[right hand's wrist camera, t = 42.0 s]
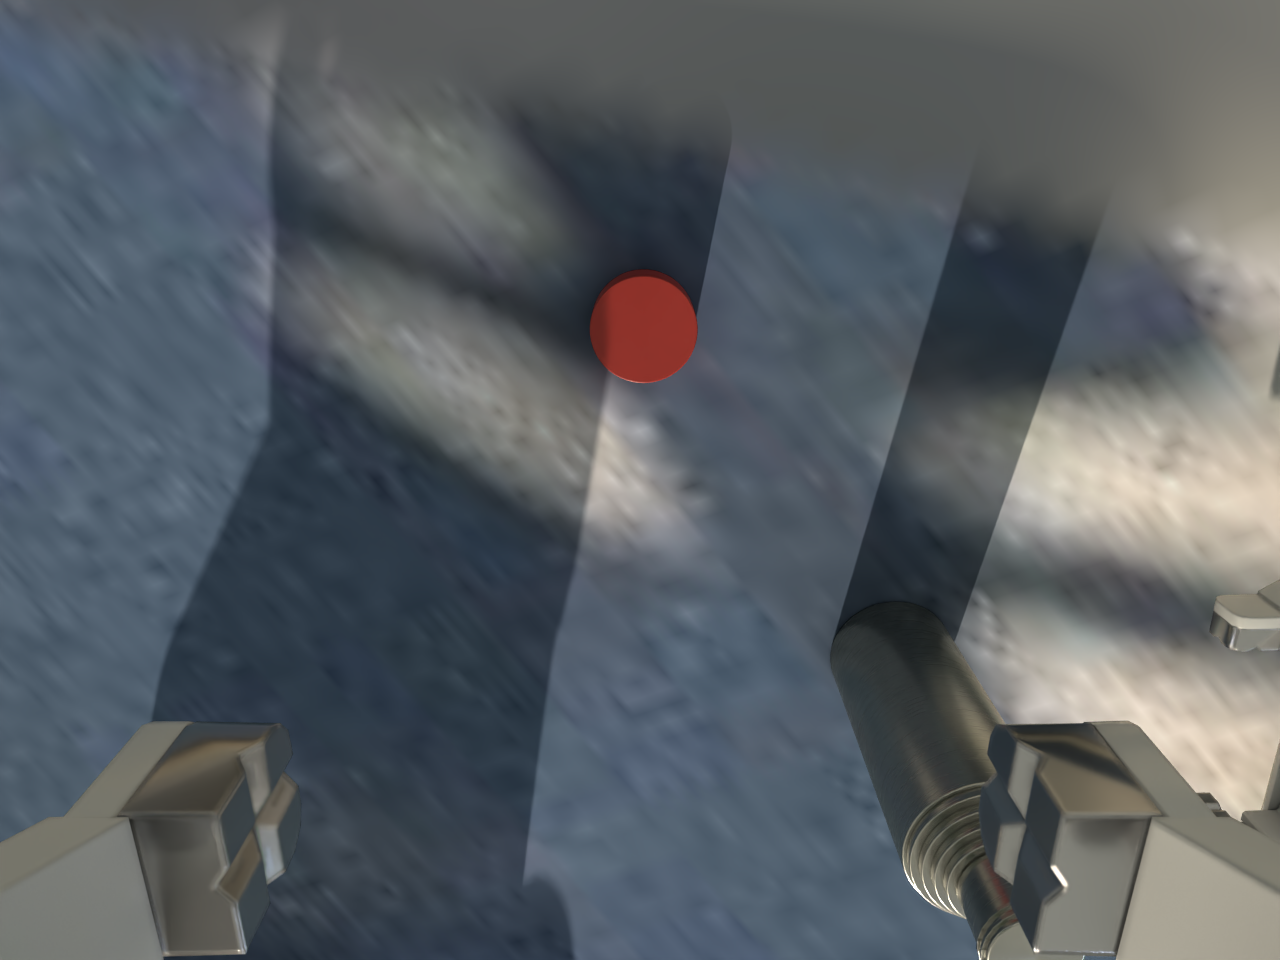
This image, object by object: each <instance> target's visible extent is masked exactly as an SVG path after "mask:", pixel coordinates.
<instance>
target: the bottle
mask: <svg viewBox="0 0 1280 960" xmlns="http://www.w3.org/2000/svg"><path fill="white" fill-rule="evenodd" d="M830 663H831V669H832V672H833V675H834V678H835V681H836V684H837V686H838V689H839V692H840V695H841V697H842V700H843V703H844V706H845V709H846V711H847V714H848V717H849V720H850V722H851V725H852V728H853V731H854V733H855V736H856V739H857V742H858V744H859V747H860V750H861V753H862V755H863V758H864V761H865V764H866V767H867V769H868V772H869V775H870V778H871V780H872V783H873V786H874V789H875V791H876V794H877V797H878V800H879V802H880V805H881V808H882V811H883V813H884V816H885V819H886V822H887V825H888V827H889V830H890V833H891V836H892V838H893V841H894V844H895V847H896V849H897V852H898V855H899V858H900V860H901V863H902V866H903V869H904V871H905V874H906V876H907V878H908V880H909V881H910V883H911V884H912V886H913V887H914V888H915V889H916V890H917V891H918V892H919V893H920V894H921V895H922V896H923V897H924V898H925V899H926V900H927V901H929V902H930V903H931V904H933V905H934V906H936V907H938V908H939V909H941V910H944V911H946V912H949V913H952V914H954V915H957V916H960V917H962V918H965V919H967V921H968V923H969V926H970V928H971V930H972V933H973V935H974V938H975V940H976V949H977V951H978V954H979V957H980V960H1084V958H1085V956H1081V955H1046V954H1034V952H1033V950H1032V948H1031V946H1030V944H1029V942H1028V940H1027V938H1026V936H1025V934H1024V932H1023V930H1022V928H1021V926H1020V924H1019V922H1018V919H1017V917H1016V915H1015V913H1014V911H1013V909H1012V907H1011V905H1010V899H1011V893H1012V887H1013V885H1012V884H1011V883H1009V882H1008V881H1007V880H1005V879H1004V878H1002V877H1001V876H1000V875H998V874H997V873H996V872H994V870H993V868H992V866H991V863H990V861H989V859H988V857H987V855H986V852H985V849H984V845H983V841H982V838H981V833H980V822H979V811H978V810H979V802H980V794H981V786H982V785H983V784H984V783H985V782H986V781H987V780H988V779H989V778H990V777H991V776H992V775H993V774H994V773H995V772H996V770H995V768H994V766H993V764H992V762H991V761H990V759H989V757H988V755H987V750H988V745H989V739H990V735H991V733H992V731H993V729H994V727H995V725H996V724H1005V722H1004V721H1003V719H1002V717H1001V716H1000V714H999V713H998V711H997V709H996V708H995V706H994V705H993V703H992V701H991V700H990V698H989V697H988V695H987V693H986V692H985V690H984V689H983V687H982V685H981V684H980V682H979V681H978V679H977V678H976V676H975V674H974V673H973V671H972V670H971V668H970V666H969V665H968V663H967V662H966V660H965V658H964V657H963V655H962V654H961V652H960V650H959V649H958V647H957V646H956V644H955V642H954V641H953V639H952V638H951V636H950V634H949V633H948V631H947V630H946V628H945V626H944V625H943V623H942V622H941V621H940V620H939V618H938V617H936V616H935V615H934V614H933V613H932V612H930V611H929V610H927V609H925V608H923V607H921V606H918V605H915V604H912V603H907V602H886V603H880V604H877V605H873V606H871V607H868V608H866V609H864V610H862V611H860V612H858V613H857V614H856V615H854V616H853V617H851V618H850V619H849V620H848V621H847V622H846V623H845V624H844V625H843V626H842V628H841V629H840V631H839V632H838V634H837V635H836V637H835V639H834V642H833V645H832V648H831V654H830Z"/></svg>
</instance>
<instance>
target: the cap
mask: <svg viewBox="0 0 1280 960" xmlns="http://www.w3.org/2000/svg"><path fill="white" fill-rule="evenodd" d="M697 328H698V327H697V319H696V315H695V311H694V308H693V305H692V303H691V300H690V298H689V296H688V294H687V293H686V291H685V290H684V288H683V287H682V286H681V285H680V284H679V283H678V282H677V281H675V280H674V279H673V278H671V277H670V276H668V275H666V274H664V273H661V272H658V271H655V270H648V269H640V270H633V271H629V272H626V273H623V274H621V275H619V276H617V277H616V278H614V279H613V280H612V281H610V282H609V283H608V284H607V285H606V286H605V287H604V288H603V290H602V291H601V292H600V294H599V296H598V298H597V300H596V302H595V305H594V309H593V313H592V316H591V321H590V337H591V342H592V346H593V349H594V351H595V353H596V355H597V357H598V358H599V360H600V361H601V363H602V364H603V365H604V366H605V367H606V368H607V369H608V370H609V371H611V372H612V373H613V374H615V375H617V376H618V377H620V378H623V379H625V380H628V381H632V382H638V383H649V382H655V381H659V380H662V379H665V378H667V377H669V376H671V375H672V374H674V373H675V372H677V371H678V370H679V369H680V368H681V367H682V366H683V365H684V364H685V363H686V362H687V360H688V359H689V357H690V356H691V354H692V352H693V349H694V347H695V343H696V339H697Z"/></svg>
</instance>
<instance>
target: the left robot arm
mask: <svg viewBox="0 0 1280 960" xmlns="http://www.w3.org/2000/svg"><path fill="white" fill-rule="evenodd" d="M1209 632H1210V633H1211V634H1212V635H1213V636H1214V637H1219V639H1220V641H1221V643H1222V644H1223V645H1224V646H1226V647H1228V648H1230V649H1232V650H1236V651H1251V650H1253V649H1254V648H1257V649H1259V650H1260V651H1279V648H1280V580H1278V581H1276V582H1274V583H1272V584H1271V585H1269V586H1267V587H1265V588H1263V589H1261V590H1260V591H1258V594H1245V595H1221V596H1217V597H1216V601H1215V605H1214V611H1213V616H1212V621H1211V625H1210V630H1209ZM1197 795H1198V796H1199V797H1200V798H1201V799H1202V800H1203V802H1204V803H1205V804H1206V805H1207V806H1208V807H1209V809H1210V810H1211V811H1212V812H1213V813H1214V814H1215V816H1216V817H1230V815H1229V814H1228V813H1227V812H1226V811H1224V810H1221V807H1220V805H1219V803H1218V802H1217V800H1216V799H1215V798H1214V797H1213V796H1212V795H1211V794H1210V793H1197ZM1241 820H1242V821H1243V822H1241V823H1243V824H1245V825H1247V826H1249V827H1251V828H1253V829H1255V830H1256V831H1258V832H1260V833H1262V834H1264V835H1266V836H1268V837H1270V838H1272V839H1274V840H1276V841H1277V842H1279V843H1280V741H1279V745H1278V749H1277V752H1276V756H1275V760H1274V764H1273V767H1272V771H1271V775H1270V779H1269V783H1268V786H1267V790H1266V794H1265V798H1264V801H1263V805H1262V809H1261V810H1257V811H1245V812H1243V813H1242V817H1241Z"/></svg>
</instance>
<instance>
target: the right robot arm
mask: <svg viewBox="0 0 1280 960" xmlns="http://www.w3.org/2000/svg"><path fill="white" fill-rule="evenodd" d="M292 755H293V751H292V746H291V741H290V736H289V732H288V729H287V728H285V727H284V726H283V725H282V724H281V723H246V722H200V721H197V722H190V721H153V722H150V723H148V724H145V725H142V726H141V727H140V728H139V729H138V730H137V732H136V733H135V734H134V735H133V736H132V737H131V739H130V740H129V741H128V742H127V743H126V744H125V746H124V747H123V748H122V749H121V750H120V751H119V753H118V754H117V755H116V756H115V757H114V758H113V760H112V761H111V762H110V763H109V764H108V765H107V767H106V768H105V769H104V770H103V771H102V772H101V774H100V775H99V776H98V777H97V778H96V779H95V781H94V782H93V783H92V784H91V785H90V786H89V788H88V789H87V790H86V791H85V792H84V793H83V795H82V796H81V797H80V798H79V799H78V800H77V802H76V803H75V804H74V805H73V806H72V807H71V809H70V810H69V811H68V812H67V813H66V814H65V816H64V817H48V818H46V819H44V820H43V821H41V822H39V823H37V824H35V825H33V826H31V827H29V828H27V829H25V830H23V831H22V832H20V833H18V834H16V835H14V836H12V837H10V838H8V839H6V840H4V841H2V842H1V843H0V960H164V956H198V955H232V954H246V952H247V950H248V948H249V946H250V944H251V942H252V940H253V938H254V936H255V934H256V932H257V930H258V928H259V926H260V924H261V922H262V920H263V917H264V915H265V913H266V911H267V909H268V907H269V905H270V899H269V893H268V887H267V885H268V884H269V883H271V882H272V881H273V880H275V879H276V878H278V877H279V876H280V875H282V874H283V873H284V872H286V870H287V868H288V866H289V863H290V861H291V859H292V857H293V855H294V852H295V849H296V845H297V840H298V836H299V831H300V826H301V800H300V793H299V786H298V785H297V784H296V783H295V782H294V781H293V780H292V779H291V778H290V777H289V776H288V775H287V774H286V773H285V772H284V770H285V768H286V766H287V764H288V762H289V761H290V759H291V757H292ZM987 755H988V757H989V759H990V761H991V762H992V764H993V766H994V768H995V770H996V772H995V773H994V774H993V775H992V776H991V777H990V778H989V779H988V780H987V781H986V782H985V783H984V784H983V785H982V786H981V794H980V802H979V810H978V811H979V822H980V833H981V838H982V841H983V845H984V849H985V852H986V855H987V857H988V859H989V861H990V863H991V866H992V868H993V870H994V872H996V873H997V874H998V875H1000V876H1001V877H1002V878H1004V879H1005V880H1007V881H1008V882H1009V883H1011V884H1012V885H1013V887H1012V893H1011V899H1010V905H1011V907H1012V909H1013V911H1014V913H1015V915H1016V917H1017V919H1018V922H1019V924H1020V926H1021V928H1022V930H1023V932H1024V934H1025V936H1026V938H1027V940H1028V942H1029V944H1030V946H1031V948H1032V950H1033V952H1034V954H1046V955H1081V956H1116V960H1280V843H1279V842H1277V841H1276V840H1274V839H1272V838H1270V837H1268V836H1266V835H1264V834H1262V833H1260V832H1258V831H1256V830H1255V829H1253V828H1251V827H1249V826H1247V825H1245V824H1243V823H1241V822H1239V821H1237V820H1236V819H1234V818H1232V817H1216V816H1215V814H1214V813H1213V812H1212V811H1211V810H1210V809H1209V807H1208V806H1207V805H1206V804H1205V803H1204V802H1203V800H1202V799H1201V798H1200V797H1199V796H1198V795H1197V793H1196V792H1195V791H1194V790H1193V789H1192V788H1191V786H1190V785H1189V784H1188V783H1187V782H1186V781H1185V779H1184V778H1183V777H1182V776H1181V775H1180V774H1179V772H1178V771H1177V770H1176V769H1175V768H1174V767H1173V765H1172V764H1171V763H1170V762H1169V761H1168V760H1167V758H1166V757H1165V756H1164V755H1163V754H1162V753H1161V751H1160V750H1159V749H1158V748H1157V747H1156V746H1155V744H1154V743H1153V742H1152V741H1151V740H1150V739H1149V737H1148V736H1147V735H1146V734H1145V733H1144V732H1143V730H1142V729H1141V728H1140V727H1139V726H1137V725H1135V724H1133V723H1131V722H1129V721H1103V722H1084V723H1070V724H996V725H995V727H994V729H993V731H992V733H991V735H990V739H989V745H988V750H987Z"/></svg>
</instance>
